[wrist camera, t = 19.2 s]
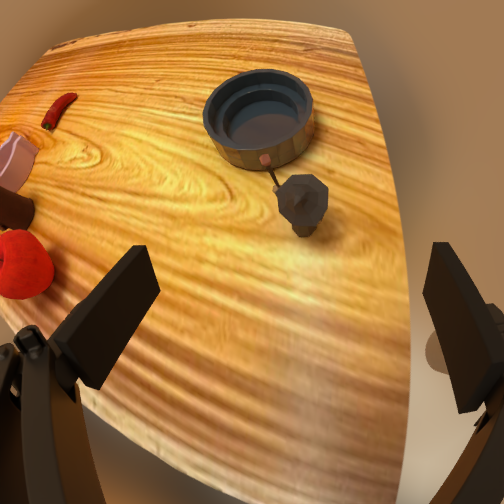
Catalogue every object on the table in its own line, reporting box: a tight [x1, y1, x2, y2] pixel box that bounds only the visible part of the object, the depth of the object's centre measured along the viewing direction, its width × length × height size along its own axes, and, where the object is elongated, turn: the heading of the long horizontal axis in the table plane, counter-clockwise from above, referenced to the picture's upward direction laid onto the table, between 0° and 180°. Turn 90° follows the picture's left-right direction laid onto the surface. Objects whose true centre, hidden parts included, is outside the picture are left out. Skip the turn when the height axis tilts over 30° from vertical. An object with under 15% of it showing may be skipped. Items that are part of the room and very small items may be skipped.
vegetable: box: [41, 93, 77, 131], centre depth 58 cm, size 4×5×12 cm
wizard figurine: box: [259, 154, 328, 237], centre depth 35 cm, size 8×6×12 cm
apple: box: [0, 229, 54, 300], centre depth 42 cm, size 12×12×13 cm
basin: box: [203, 69, 315, 170], centre depth 42 cm, size 16×16×6 cm
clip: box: [0, 132, 39, 193], centre depth 55 cm, size 20×12×7 cm, turn 150°
